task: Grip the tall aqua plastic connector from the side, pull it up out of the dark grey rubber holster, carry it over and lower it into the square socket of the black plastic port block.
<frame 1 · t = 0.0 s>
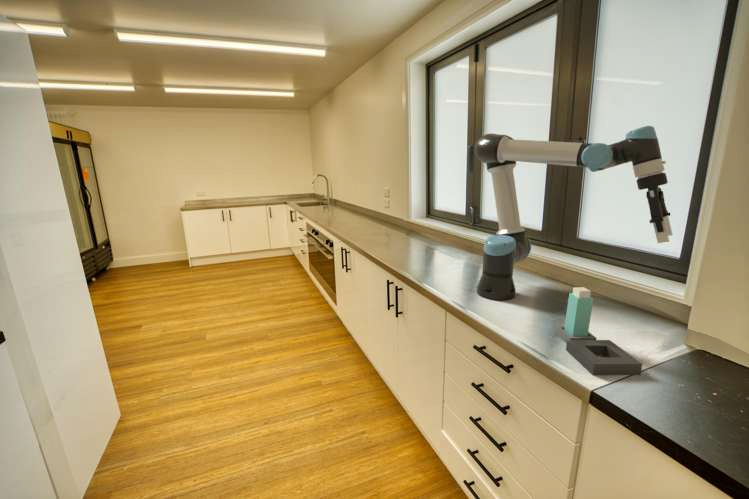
hand: (665, 239, 111), 28 cm above the table, tool tilted 20°, fingers open, 13 cm apart
port block: (600, 361, 91), on the table
holster: (574, 339, 103), on the table
connector: (578, 314, 101), in the holster
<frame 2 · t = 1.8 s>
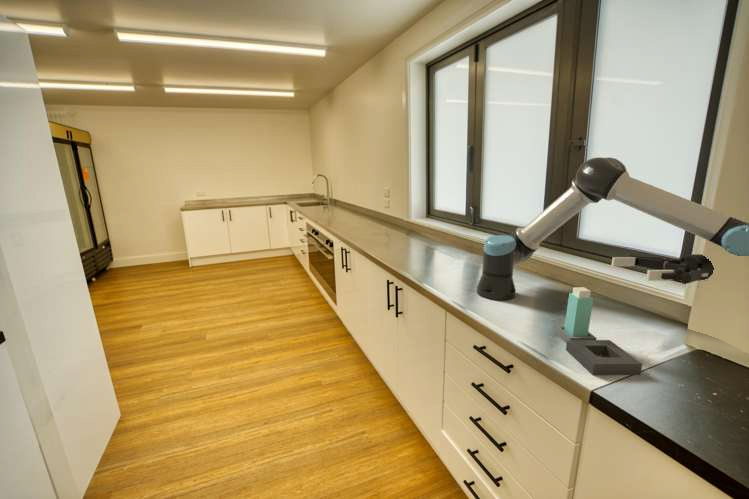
hand: (629, 268, 98), 22 cm above the table, tool horizontal, fingers open, 13 cm apart
nothing on the table moved.
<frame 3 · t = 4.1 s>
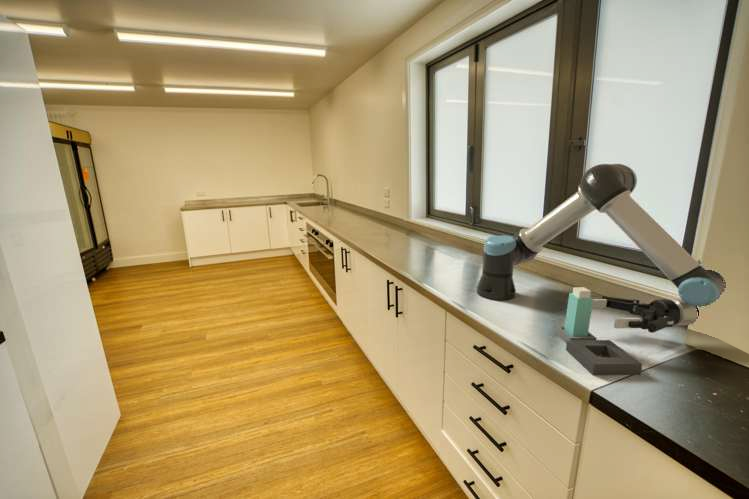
hand: (599, 312, 100), 9 cm above the table, tool horizontal, fingers open, 13 cm apart
nothing on the table moved.
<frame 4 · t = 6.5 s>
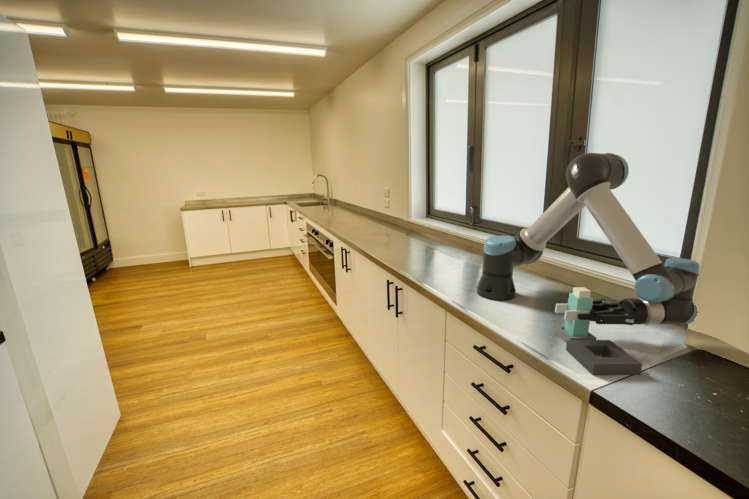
hand: (560, 311, 100), 9 cm above the table, tool horizontal, fingers closed on connector, 4 cm apart
connector: (578, 314, 101), in the holster, touching gripper
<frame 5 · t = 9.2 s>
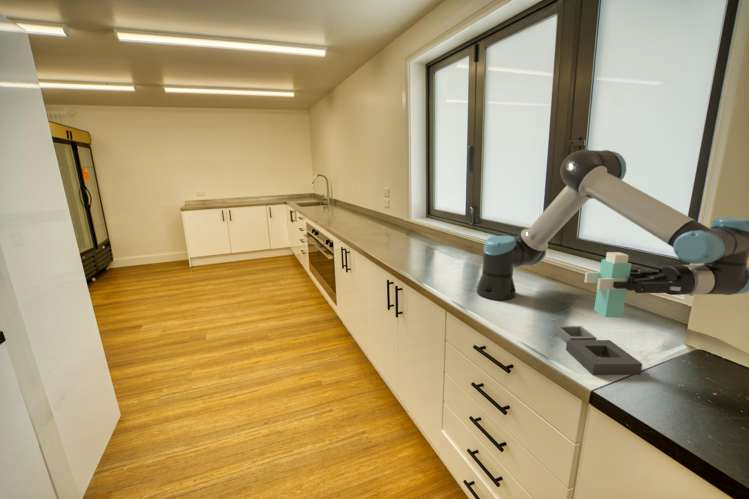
hand: (592, 280, 86), 22 cm above the table, tool horizontal, fingers closed on connector, 4 cm apart
connector: (612, 284, 87), point 21 cm above the table, touching gripper
when the fingers open (10 cm above the table, at t = 11.8 s): connector drops 1 cm, resting in port block.
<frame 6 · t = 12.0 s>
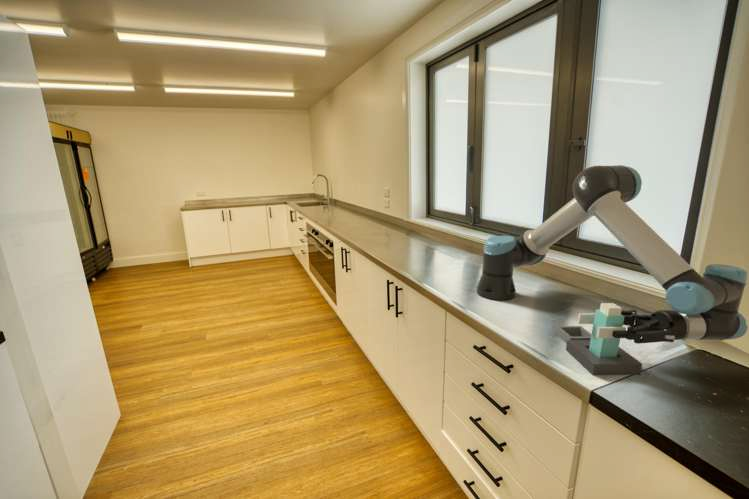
hand: (588, 325, 88), 10 cm above the table, tool horizontal, fingers open, 7 cm apart
connector: (605, 334, 89), in the port block
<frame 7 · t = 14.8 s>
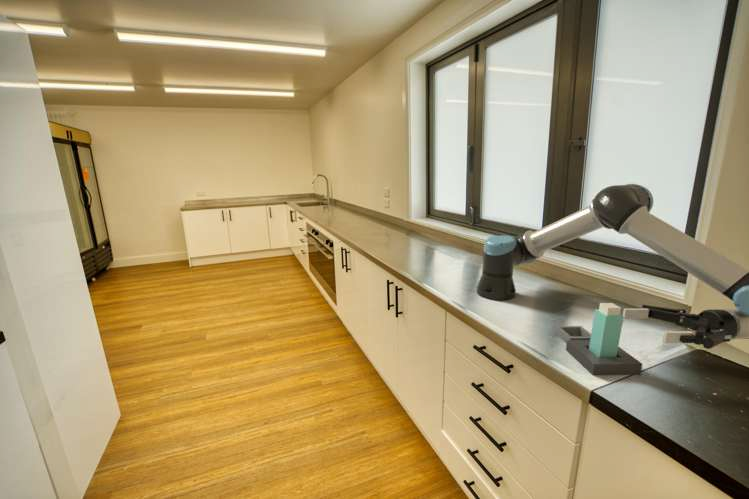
hand: (642, 324, 88), 11 cm above the table, tool horizontal, fingers open, 13 cm apart
nothing on the table moved.
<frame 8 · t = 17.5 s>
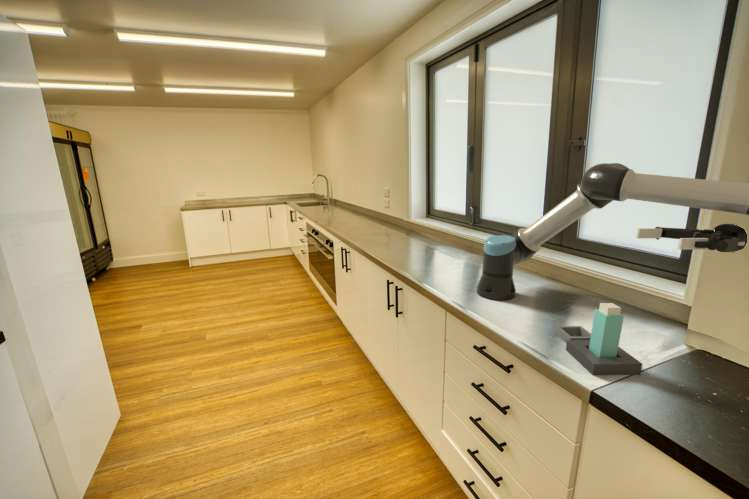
hand: (657, 238, 90), 32 cm above the table, tool horizontal, fingers open, 13 cm apart
nothing on the table moved.
at the end: connector 0.0 cm off-centre on the port block, point 8.0 cm above the port block's base; connector tilted 0°; the gripper is holding nothing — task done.
